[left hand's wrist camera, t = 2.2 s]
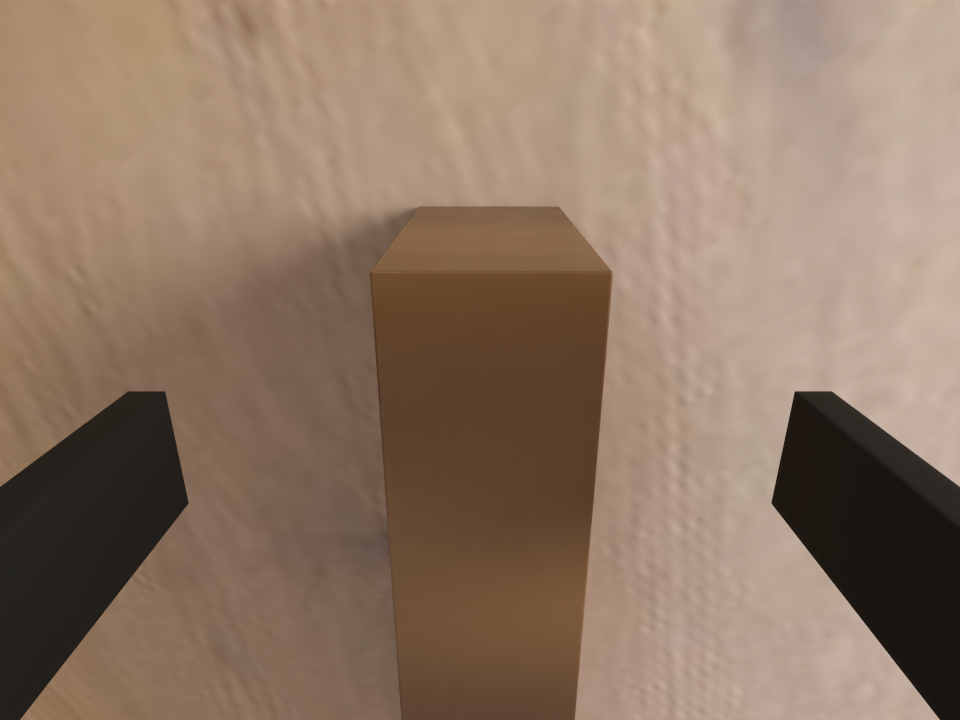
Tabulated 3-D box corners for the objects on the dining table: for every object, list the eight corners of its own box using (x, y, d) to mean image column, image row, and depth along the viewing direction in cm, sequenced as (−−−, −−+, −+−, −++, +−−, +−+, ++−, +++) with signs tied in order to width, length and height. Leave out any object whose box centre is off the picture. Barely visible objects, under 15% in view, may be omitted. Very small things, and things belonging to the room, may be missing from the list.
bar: (418, 206, 19) (369, 271, 11) (559, 206, 19) (614, 271, 11) (438, 738, 29) (420, 983, 21) (533, 739, 29) (552, 984, 21)
